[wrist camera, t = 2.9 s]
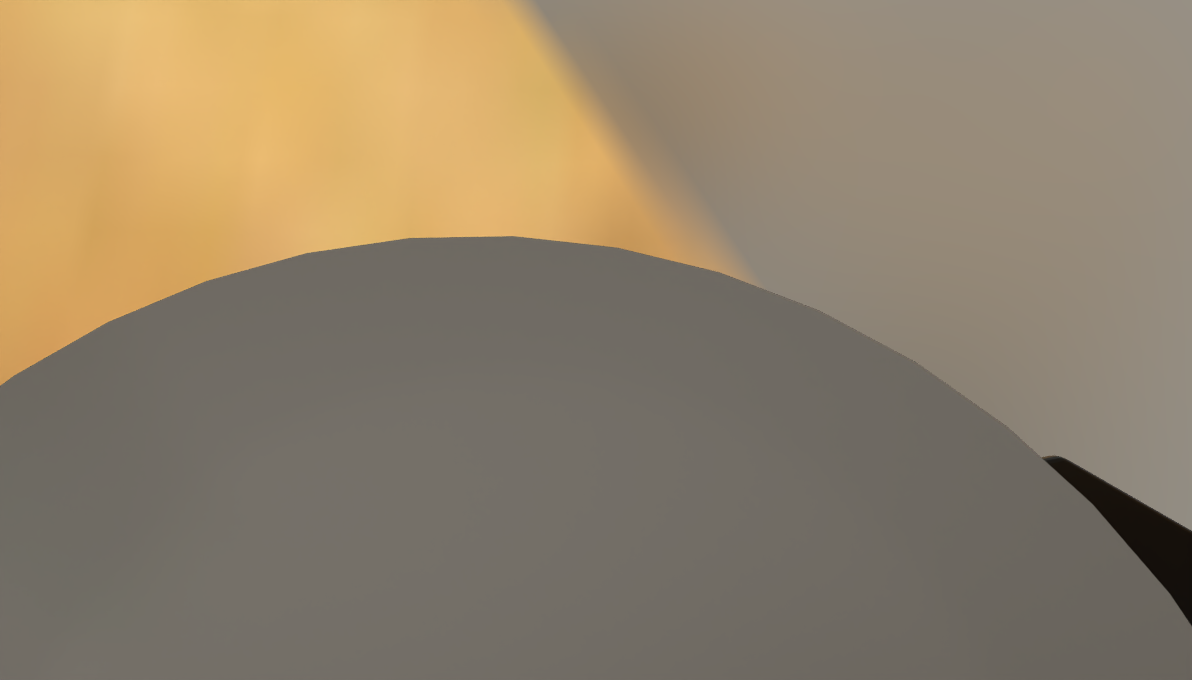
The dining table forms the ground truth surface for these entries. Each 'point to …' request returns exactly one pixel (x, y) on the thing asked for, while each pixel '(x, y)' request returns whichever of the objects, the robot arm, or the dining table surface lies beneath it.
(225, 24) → the dining table surface
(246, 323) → the shaker
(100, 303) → the dining table surface
